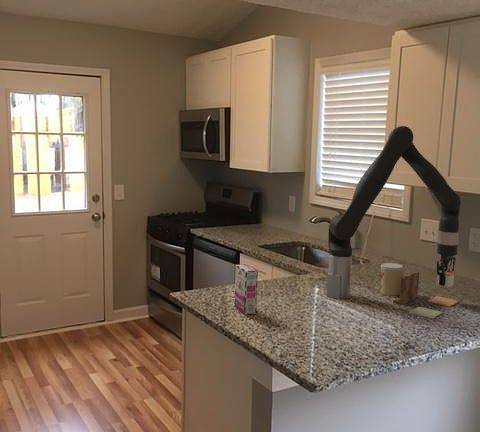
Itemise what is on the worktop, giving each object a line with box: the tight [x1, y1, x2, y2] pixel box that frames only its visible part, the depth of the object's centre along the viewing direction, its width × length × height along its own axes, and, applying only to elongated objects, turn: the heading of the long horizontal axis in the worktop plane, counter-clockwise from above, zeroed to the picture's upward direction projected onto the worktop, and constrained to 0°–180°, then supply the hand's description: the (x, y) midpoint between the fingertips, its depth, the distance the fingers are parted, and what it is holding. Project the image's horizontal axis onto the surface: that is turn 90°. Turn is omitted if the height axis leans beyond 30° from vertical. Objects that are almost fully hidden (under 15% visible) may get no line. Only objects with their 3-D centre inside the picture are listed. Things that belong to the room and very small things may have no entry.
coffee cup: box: [380, 262, 404, 296], centre depth 221 cm, size 9×9×12 cm
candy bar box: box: [233, 264, 259, 316], centre depth 193 cm, size 11×5×16 cm, turn 21°
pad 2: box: [427, 295, 460, 308], centre depth 210 cm, size 9×9×1 cm
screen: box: [392, 270, 420, 306], centre depth 211 cm, size 14×4×11 cm, turn 137°
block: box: [435, 272, 455, 289], centre depth 209 cm, size 5×5×5 cm
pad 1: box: [408, 306, 443, 319], centre depth 196 cm, size 9×9×1 cm
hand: (444, 283), depth 209 cm, fingers closed on block, 5 cm apart
